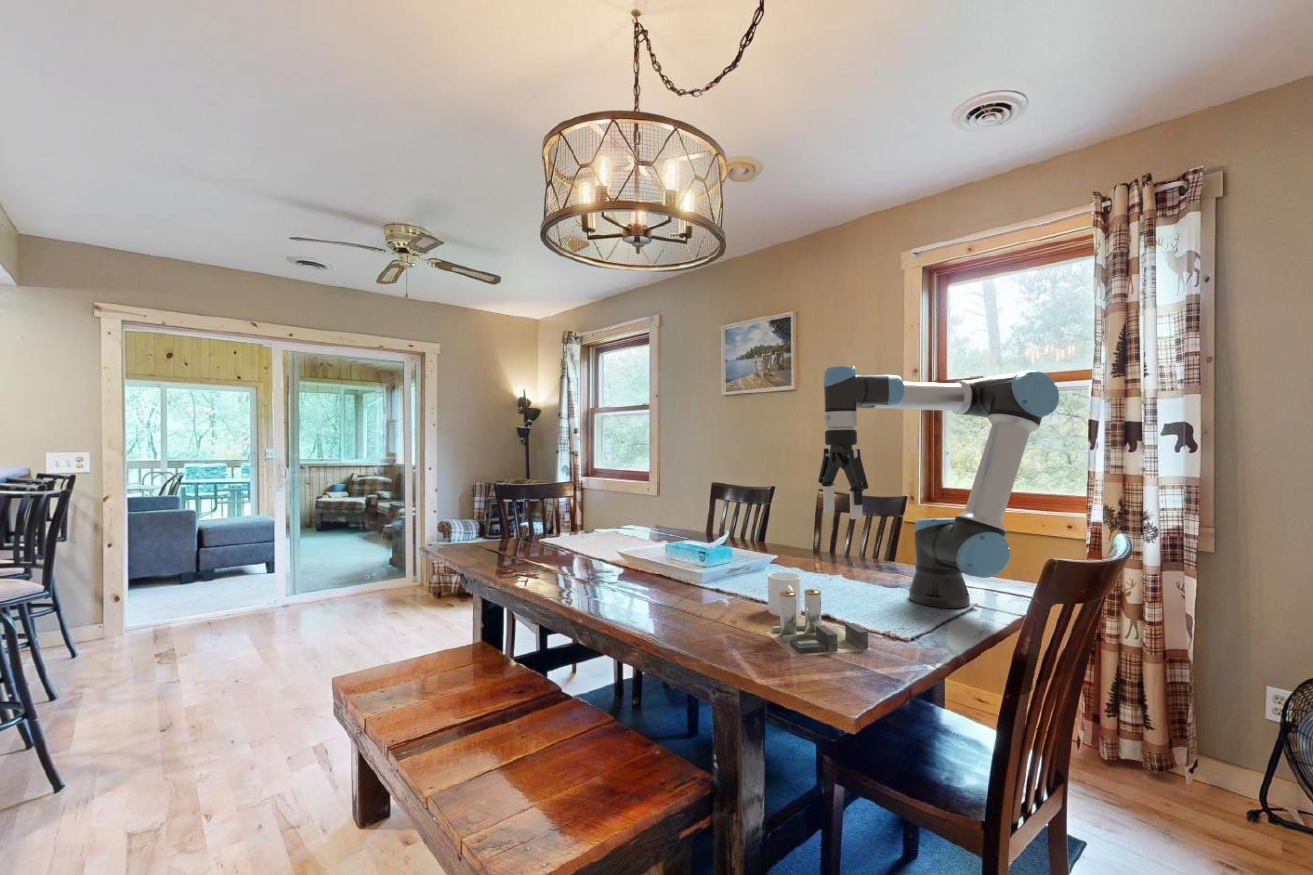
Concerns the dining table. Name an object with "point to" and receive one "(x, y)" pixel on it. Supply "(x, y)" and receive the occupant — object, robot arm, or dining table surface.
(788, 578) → the mug
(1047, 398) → the robot arm
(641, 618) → the dining table surface
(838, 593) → the dining table surface
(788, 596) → the cylinder
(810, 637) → the grey battery holder
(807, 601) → the cell
